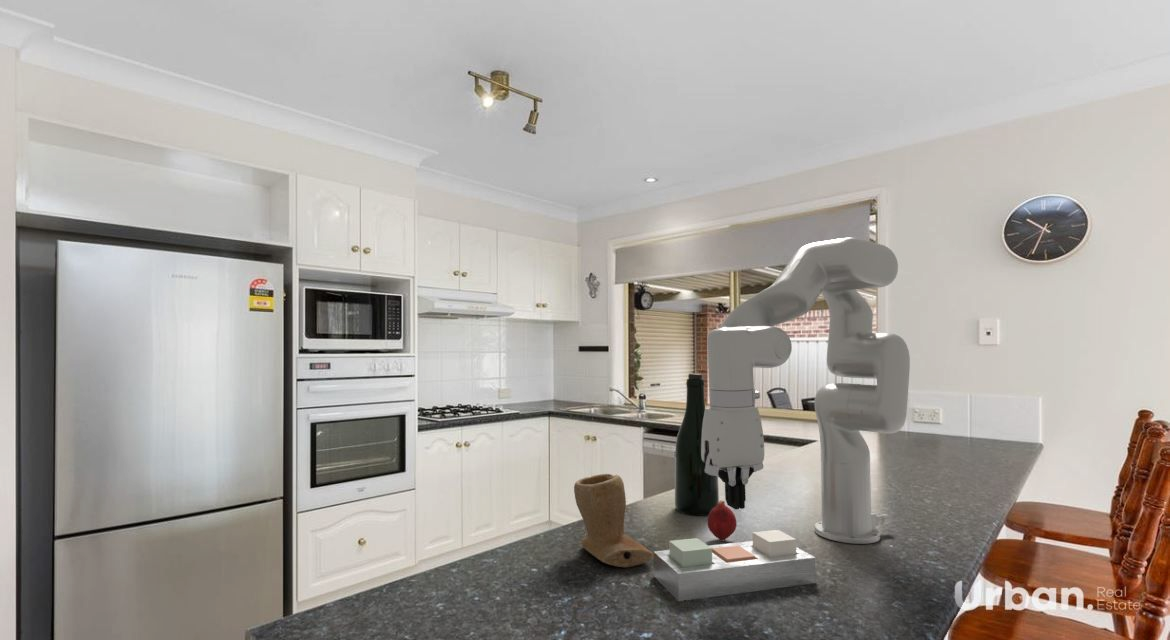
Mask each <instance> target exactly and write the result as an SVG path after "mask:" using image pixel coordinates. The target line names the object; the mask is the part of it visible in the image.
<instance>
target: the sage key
mask: <svg viewBox="0 0 1170 640" xmlns="http://www.w3.org/2000/svg"><path fill="white" fill-rule="evenodd" d="M668 544H669V546H668V548H669V549H668V550H669V558H671V559H672V560H673V561H674V562H675V563H676V564H678V565H679V566H680V567H681V568H686V567H694V566H703V565H711V564H712V548H711V547H709V546H710V545H708V544H706V542H704V541H702V540H701V539H699V538H697V537H695V538H687V539H675V540H669V541H668Z"/></svg>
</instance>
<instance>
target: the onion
mask: <svg viewBox="0 0 1170 640" xmlns="http://www.w3.org/2000/svg"><path fill="white" fill-rule="evenodd" d="M707 528H708V529H709V531H710V532H711V534H712V535H713V536H714V537H715V538H717V539H718V540H719V541H726V539H728V538H729V537H730V536H731V535H732V534H734V533H735V531H736V529H737V519H736V516H735V513H734V512H733V510H732V509H731V507H728V505H726V501H724V500H719V504H718V505H717V506H716V507H714V508H713V509H712V510H711V511H710V513H709V515H707Z"/></svg>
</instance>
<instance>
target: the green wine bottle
mask: <svg viewBox="0 0 1170 640" xmlns="http://www.w3.org/2000/svg"><path fill="white" fill-rule="evenodd" d="M687 377H688V378H687V379H686V383H685V385H686V402H685V403H686V405H685V411H684V415H683V418H682V422H681V424H680V427H679V430H678V433H677V435H676V439H675V452H674V506H675V509H676V510H677V511H679V512H680V513H682V514H685V515H691V516H708V515H709V513H710V511H711V510H712V509H713V508H714V507H716V506H717V505H718V504H719V501H720V495H719V490H720V489H719V477H718V476H713V475H709V474H707V473H705V465H706V463H704V462H703V461H702V457H701V439H702V425H703V417H704V412H705V408H706V402H705V401H706V400H705V385H706V383H705V379H704V378H703V374H702V373H688V376H687Z"/></svg>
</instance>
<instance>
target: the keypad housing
mask: <svg viewBox="0 0 1170 640" xmlns="http://www.w3.org/2000/svg"><path fill="white" fill-rule="evenodd" d="M708 546H709V547H711V548H721V547H730V546H740V547H742V548H743V549H745V550H746V551H748V552H750V553H751V554H753V555H754V556H755V559H754V560H746V561H737V562H729V563H726V562H725V561H723V560H722V559H721V558H719V557H718V556H716V555H715V554H714V553H712V564H711V565H703V566H694V567H686V568H681V567H680V566H679V565H678V564H676V563H675V562H674V561H673V560H672V559H671V558H669V549H665V550H657V551H656V550H653V552H652V553H653V555H654V557H653V577H654V579H656V580H657V581H658V582H659V584H660V585H662V586H663V587H664V588H665V589H666V590H667V591H668V592H669V593H670V594H671V595H672V596H673V598H675V599H676V601H678V602H684V600H686V601H692V599H693V600H700V599H706V598H707V599H708V598H714V597H723V596H729V595H738V594H744V593H752V592H753V593H754V592H759V591H766V590H774V589H780V588H781V589H783V588H788V587H789V588H790V587H798V586H804V585H805V586H806V585H813V584H816V583H817V573H816V572H817V571H816V570H817V569H816V557H815V556H813V555H812V554H810V553H808V552H806V551H804V550H803V549H801V548H799V547H797V546H796V553H797V555H788V556H780V557H771V558H769V557H767V556H766V555H764V554H762V553H761V552H759V551H757V550H756V549H754V548H753V540H750V541H741V542H739V541H738V542H731V543H720V544H712V545H708Z"/></svg>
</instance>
